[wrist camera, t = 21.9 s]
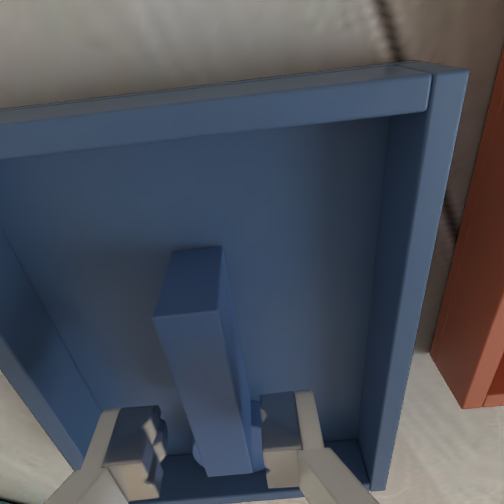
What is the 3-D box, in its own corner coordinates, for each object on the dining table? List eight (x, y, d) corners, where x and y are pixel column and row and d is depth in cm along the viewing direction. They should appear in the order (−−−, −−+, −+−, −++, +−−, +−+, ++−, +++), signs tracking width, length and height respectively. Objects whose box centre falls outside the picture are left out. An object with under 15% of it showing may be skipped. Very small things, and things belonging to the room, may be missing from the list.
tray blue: (415, 59, 9) (472, 68, 7) (367, 435, 17) (385, 491, 15) (-72, 117, 9) (-166, 143, 7) (121, 457, 18) (105, 514, 16)
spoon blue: (136, 254, 11) (104, 323, 8) (258, 241, 11) (264, 306, 8) (203, 451, 17) (196, 526, 14) (282, 444, 17) (290, 518, 14)
